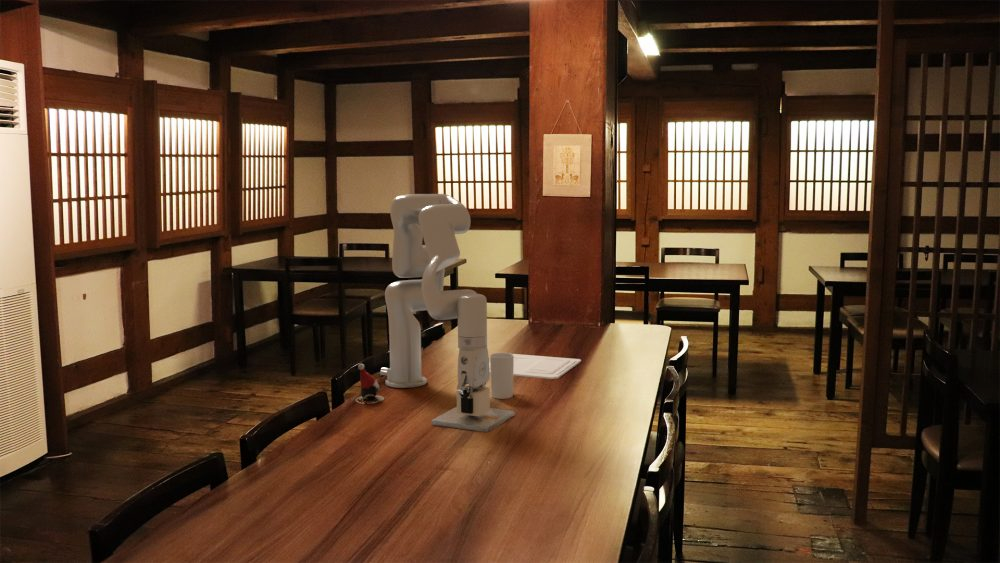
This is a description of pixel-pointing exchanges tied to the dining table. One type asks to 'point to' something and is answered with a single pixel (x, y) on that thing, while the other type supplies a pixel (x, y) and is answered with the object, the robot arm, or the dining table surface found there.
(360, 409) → the dining table surface
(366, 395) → the figurine
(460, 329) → the robot arm
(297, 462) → the dining table surface
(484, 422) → the square peg base
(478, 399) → the hollow square tube
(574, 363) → the tray
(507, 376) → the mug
